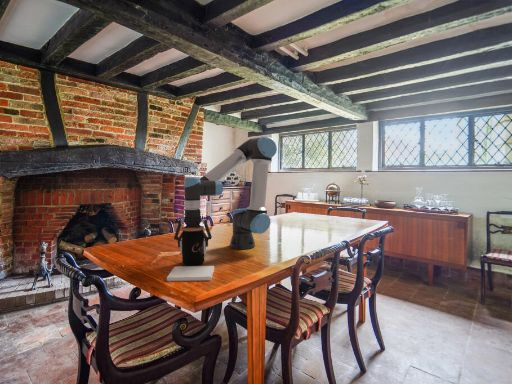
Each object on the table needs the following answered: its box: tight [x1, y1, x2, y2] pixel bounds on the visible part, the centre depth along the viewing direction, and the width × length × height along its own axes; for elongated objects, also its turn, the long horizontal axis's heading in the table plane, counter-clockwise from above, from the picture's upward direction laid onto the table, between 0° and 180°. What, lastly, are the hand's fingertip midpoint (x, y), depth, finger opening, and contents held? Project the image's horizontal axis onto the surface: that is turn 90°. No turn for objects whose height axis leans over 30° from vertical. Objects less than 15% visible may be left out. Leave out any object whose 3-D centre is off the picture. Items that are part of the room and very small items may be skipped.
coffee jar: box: [181, 225, 205, 266], centre depth 142 cm, size 11×11×18 cm
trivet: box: [166, 265, 215, 282], centre depth 127 cm, size 18×14×2 cm
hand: (193, 253), depth 142 cm, fingers closed on coffee jar, 11 cm apart
